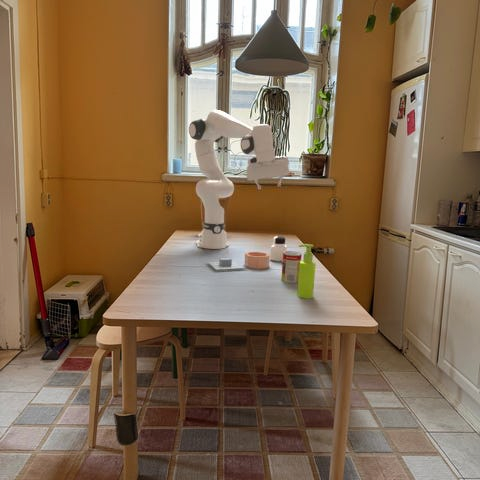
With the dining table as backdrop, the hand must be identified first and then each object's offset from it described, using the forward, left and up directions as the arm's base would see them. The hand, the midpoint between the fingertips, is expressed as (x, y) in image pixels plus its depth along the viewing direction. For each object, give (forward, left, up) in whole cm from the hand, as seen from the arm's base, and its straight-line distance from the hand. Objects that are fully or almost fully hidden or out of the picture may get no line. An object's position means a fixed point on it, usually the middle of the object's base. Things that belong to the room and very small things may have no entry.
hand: (269, 187), depth 193 cm
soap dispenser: (+48, -6, -38) cm, 61 cm away
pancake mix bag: (-81, -1, -38) cm, 90 cm away
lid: (+3, -22, -37) cm, 43 cm away
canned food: (+28, -1, -38) cm, 47 cm away
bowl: (+3, -6, -38) cm, 38 cm away
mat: (+3, -22, -38) cm, 44 cm away
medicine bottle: (-8, +11, -38) cm, 40 cm away
